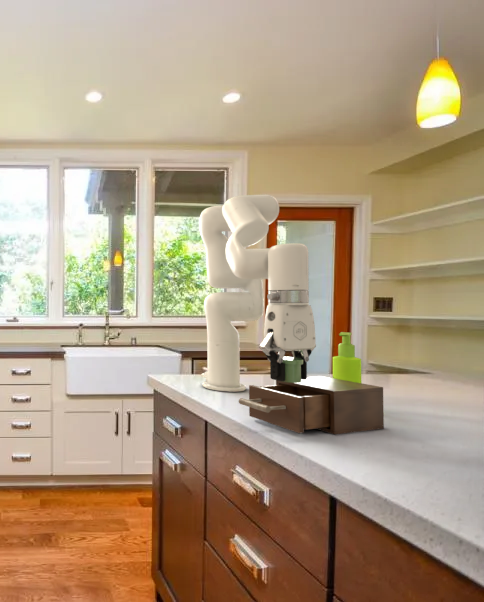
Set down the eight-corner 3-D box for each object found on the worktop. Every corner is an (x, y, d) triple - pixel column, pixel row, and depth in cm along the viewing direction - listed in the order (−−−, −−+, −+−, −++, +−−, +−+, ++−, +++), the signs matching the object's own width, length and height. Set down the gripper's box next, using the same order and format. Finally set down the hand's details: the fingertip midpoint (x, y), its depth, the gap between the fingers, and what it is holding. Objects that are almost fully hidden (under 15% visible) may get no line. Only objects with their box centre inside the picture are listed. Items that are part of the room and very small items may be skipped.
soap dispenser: (330, 407, 98) (329, 332, 98) (335, 402, 103) (334, 331, 103) (359, 412, 94) (358, 333, 94) (363, 407, 98) (362, 332, 98)
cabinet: (334, 434, 77) (334, 391, 77) (276, 416, 90) (275, 379, 90) (383, 428, 81) (383, 387, 81) (321, 411, 94) (320, 375, 94)
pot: (268, 378, 85) (268, 357, 85) (286, 377, 86) (286, 356, 86) (290, 383, 80) (290, 360, 80) (309, 382, 81) (309, 359, 81)
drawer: (277, 436, 74) (277, 399, 74) (229, 418, 86) (229, 386, 86) (347, 427, 79) (347, 393, 79) (293, 411, 91) (292, 382, 91)
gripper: (272, 298, 77) (273, 385, 77) (333, 298, 82) (334, 380, 82) (243, 299, 84) (244, 378, 84) (301, 299, 89) (301, 374, 89)
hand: (288, 378), depth 83 cm, fingers closed on pot, 5 cm apart
